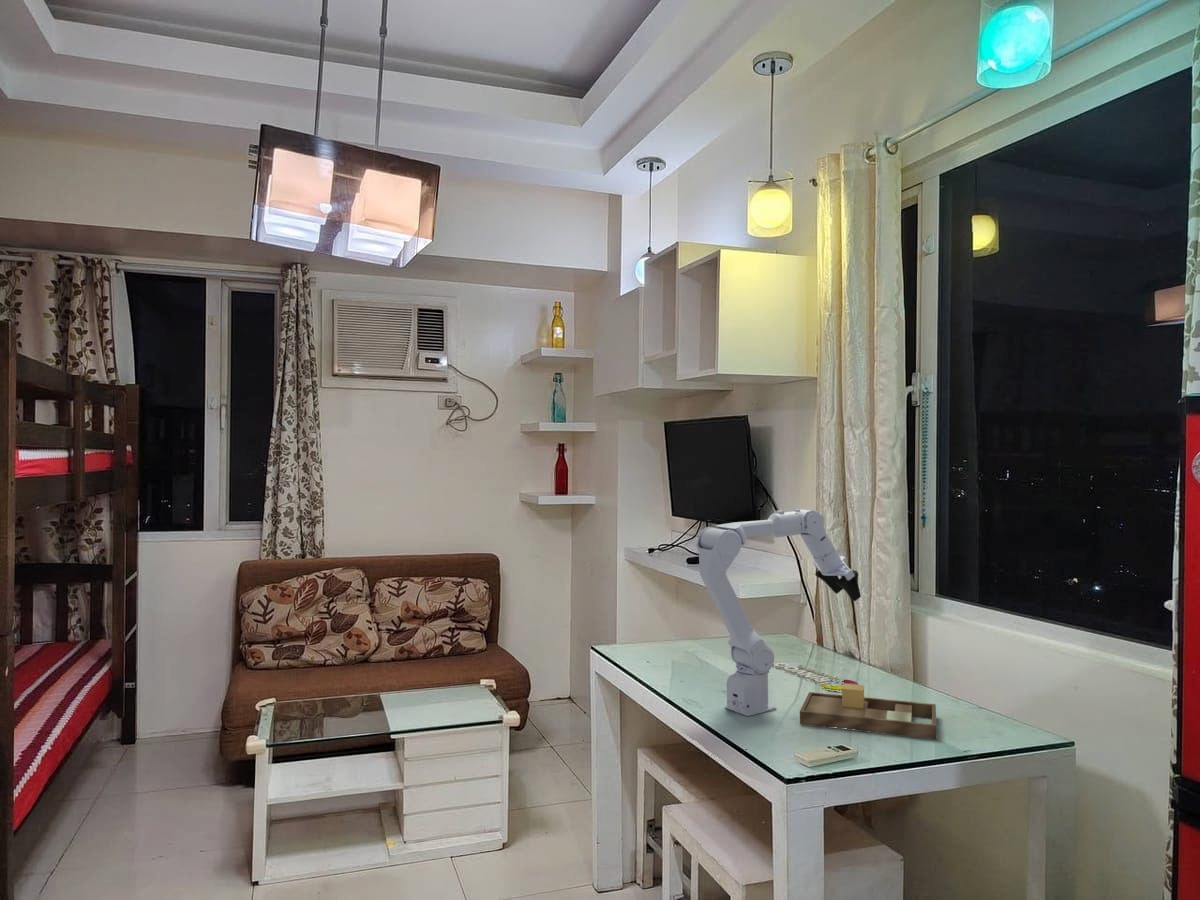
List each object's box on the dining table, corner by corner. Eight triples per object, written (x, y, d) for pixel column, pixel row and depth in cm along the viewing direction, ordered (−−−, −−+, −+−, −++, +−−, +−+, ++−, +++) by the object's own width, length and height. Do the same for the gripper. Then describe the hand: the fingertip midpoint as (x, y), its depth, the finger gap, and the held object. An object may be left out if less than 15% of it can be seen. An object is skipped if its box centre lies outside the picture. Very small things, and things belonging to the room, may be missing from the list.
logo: (867, 686, 208) (836, 691, 204) (867, 690, 208) (836, 695, 204) (794, 660, 235) (765, 664, 231) (794, 663, 235) (766, 668, 231)
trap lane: (799, 724, 182) (799, 711, 182) (809, 704, 196) (809, 691, 196) (936, 739, 171) (936, 725, 171) (935, 717, 186) (935, 704, 186)
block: (842, 706, 187) (841, 688, 187) (843, 700, 191) (843, 683, 191) (862, 708, 185) (862, 690, 185) (864, 702, 189) (864, 685, 189)
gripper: (852, 547, 196) (877, 592, 199) (819, 536, 210) (843, 578, 213) (830, 564, 195) (856, 609, 198) (798, 553, 208) (822, 595, 212)
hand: (848, 594), depth 205 cm, fingers open, 7 cm apart
